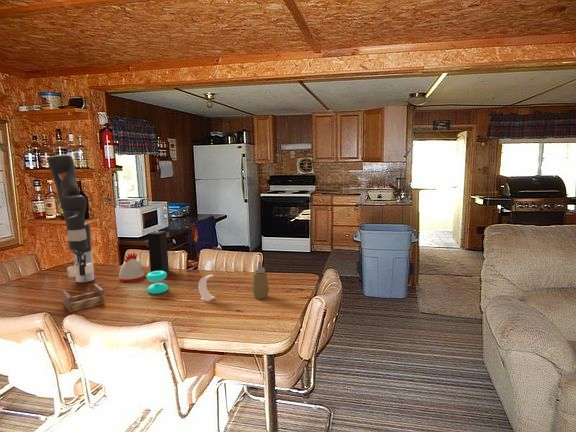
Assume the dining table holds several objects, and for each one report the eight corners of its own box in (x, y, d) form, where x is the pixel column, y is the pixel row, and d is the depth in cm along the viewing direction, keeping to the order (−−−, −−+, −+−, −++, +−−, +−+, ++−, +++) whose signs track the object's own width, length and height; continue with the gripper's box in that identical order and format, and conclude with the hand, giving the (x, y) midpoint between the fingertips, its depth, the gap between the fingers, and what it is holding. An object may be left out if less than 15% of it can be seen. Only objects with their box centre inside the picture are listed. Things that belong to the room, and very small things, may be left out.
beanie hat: (149, 277, 220) (147, 252, 218) (129, 283, 209) (126, 257, 206) (135, 273, 228) (133, 249, 225) (114, 279, 216) (111, 254, 214)
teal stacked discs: (170, 272, 193) (152, 276, 186) (171, 290, 195) (153, 296, 188) (160, 268, 200) (142, 273, 193) (162, 286, 202) (144, 291, 194)
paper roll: (69, 278, 171) (68, 268, 170) (67, 276, 175) (65, 266, 174) (95, 273, 178) (94, 263, 177) (92, 271, 182) (91, 261, 181)
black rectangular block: (162, 274, 225) (159, 228, 221) (150, 273, 227) (147, 228, 223) (169, 270, 233) (165, 225, 229) (157, 269, 234) (154, 225, 230)
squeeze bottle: (271, 295, 185) (270, 259, 182) (265, 301, 177) (264, 264, 175) (256, 293, 187) (255, 258, 185) (249, 299, 180) (248, 263, 177)
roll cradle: (69, 312, 169) (67, 297, 168) (64, 305, 178) (62, 291, 177) (104, 303, 179) (103, 289, 178) (97, 297, 188) (96, 283, 187)
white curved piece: (208, 301, 179) (206, 277, 177) (199, 299, 182) (197, 275, 180) (214, 298, 182) (213, 274, 181) (205, 296, 186) (204, 272, 184)
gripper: (65, 237, 177) (68, 272, 179) (71, 242, 166) (75, 279, 169) (82, 235, 182) (86, 269, 184) (90, 239, 171) (94, 275, 173)
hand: (81, 273), depth 176 cm, fingers closed on paper roll, 5 cm apart
